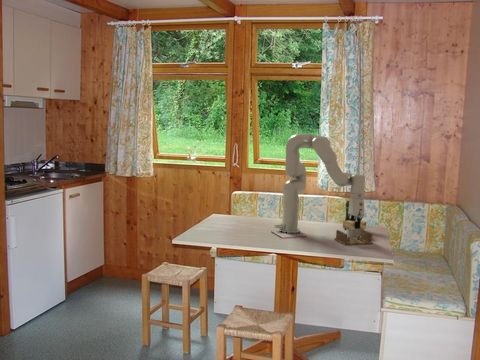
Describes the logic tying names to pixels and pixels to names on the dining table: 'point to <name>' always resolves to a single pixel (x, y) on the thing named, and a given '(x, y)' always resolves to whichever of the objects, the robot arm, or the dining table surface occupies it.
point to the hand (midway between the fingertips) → (354, 227)
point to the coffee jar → (347, 212)
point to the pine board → (353, 224)
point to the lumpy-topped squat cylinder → (353, 232)
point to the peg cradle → (360, 240)
